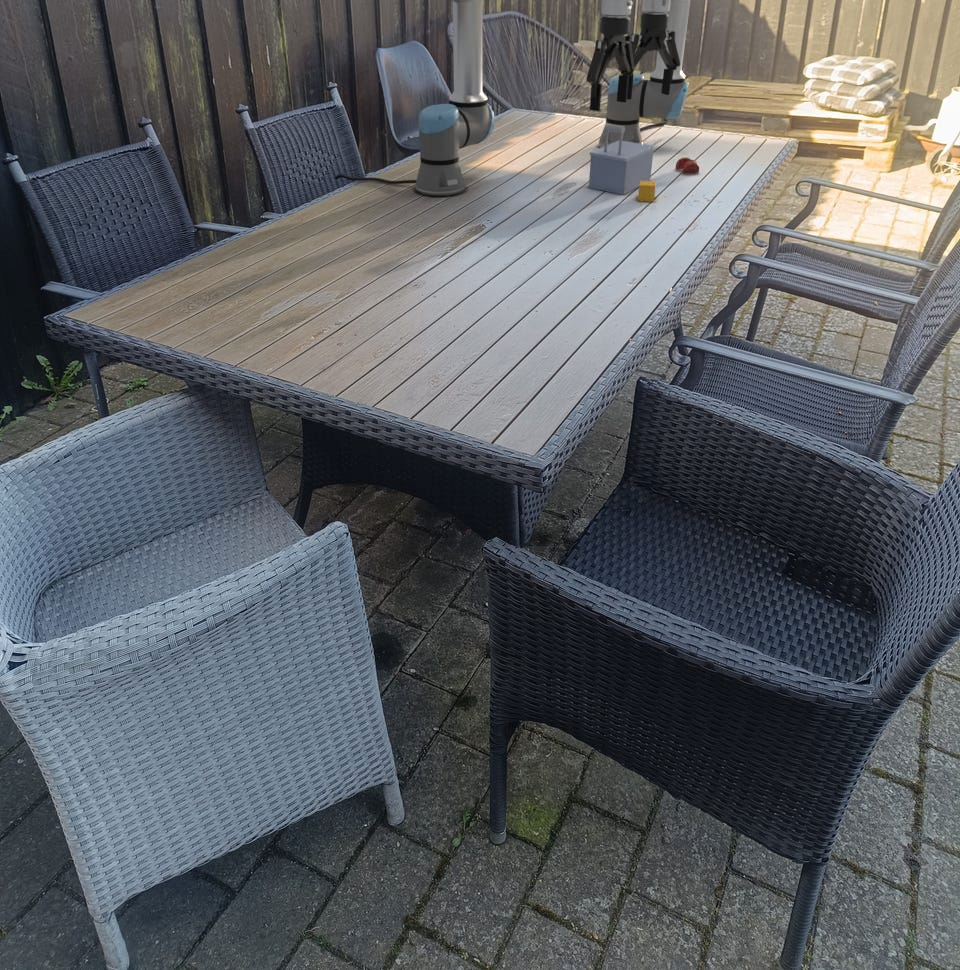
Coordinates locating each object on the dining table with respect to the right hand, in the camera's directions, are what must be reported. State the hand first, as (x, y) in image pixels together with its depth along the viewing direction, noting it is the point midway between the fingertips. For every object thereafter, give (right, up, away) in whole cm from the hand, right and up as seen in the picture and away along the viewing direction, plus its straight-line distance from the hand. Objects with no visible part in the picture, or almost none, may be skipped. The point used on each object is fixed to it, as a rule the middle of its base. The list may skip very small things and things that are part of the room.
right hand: (646, 96), depth 243 cm
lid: (-5, -11, +14) cm, 18 cm away
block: (+1, -27, +8) cm, 28 cm away
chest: (-4, -19, +20) cm, 27 cm away
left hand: (-14, -11, -18) cm, 25 cm away
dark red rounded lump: (+19, -10, +31) cm, 38 cm away
